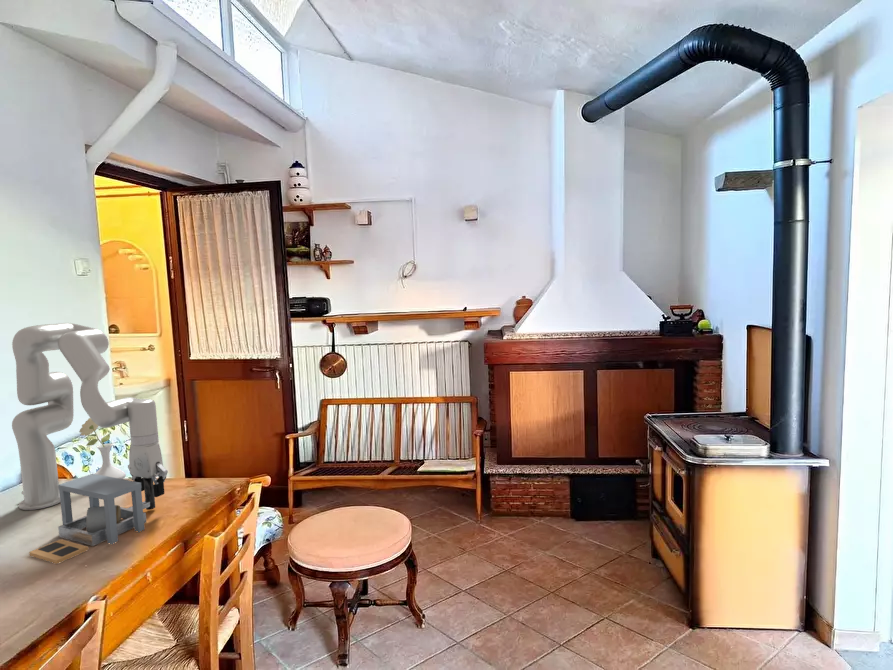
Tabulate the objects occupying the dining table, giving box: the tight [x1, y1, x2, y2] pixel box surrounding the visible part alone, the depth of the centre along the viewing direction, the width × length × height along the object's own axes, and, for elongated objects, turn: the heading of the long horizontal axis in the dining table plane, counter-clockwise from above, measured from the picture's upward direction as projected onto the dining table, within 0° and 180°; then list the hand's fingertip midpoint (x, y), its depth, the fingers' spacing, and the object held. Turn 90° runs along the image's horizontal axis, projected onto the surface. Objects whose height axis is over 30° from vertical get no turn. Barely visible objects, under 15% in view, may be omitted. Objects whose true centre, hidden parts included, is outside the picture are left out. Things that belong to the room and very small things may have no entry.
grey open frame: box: [57, 478, 156, 547], centre depth 165 cm, size 15×24×10 cm, turn 154°
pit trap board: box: [28, 538, 89, 565], centre depth 149 cm, size 12×8×1 cm, turn 64°
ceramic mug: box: [86, 504, 122, 533], centre depth 162 cm, size 11×8×8 cm
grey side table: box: [58, 473, 146, 545], centre depth 161 cm, size 22×10×14 cm, turn 64°
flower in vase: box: [78, 417, 127, 480], centre depth 201 cm, size 13×11×25 cm
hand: (149, 493), depth 175 cm, fingers open, 8 cm apart
